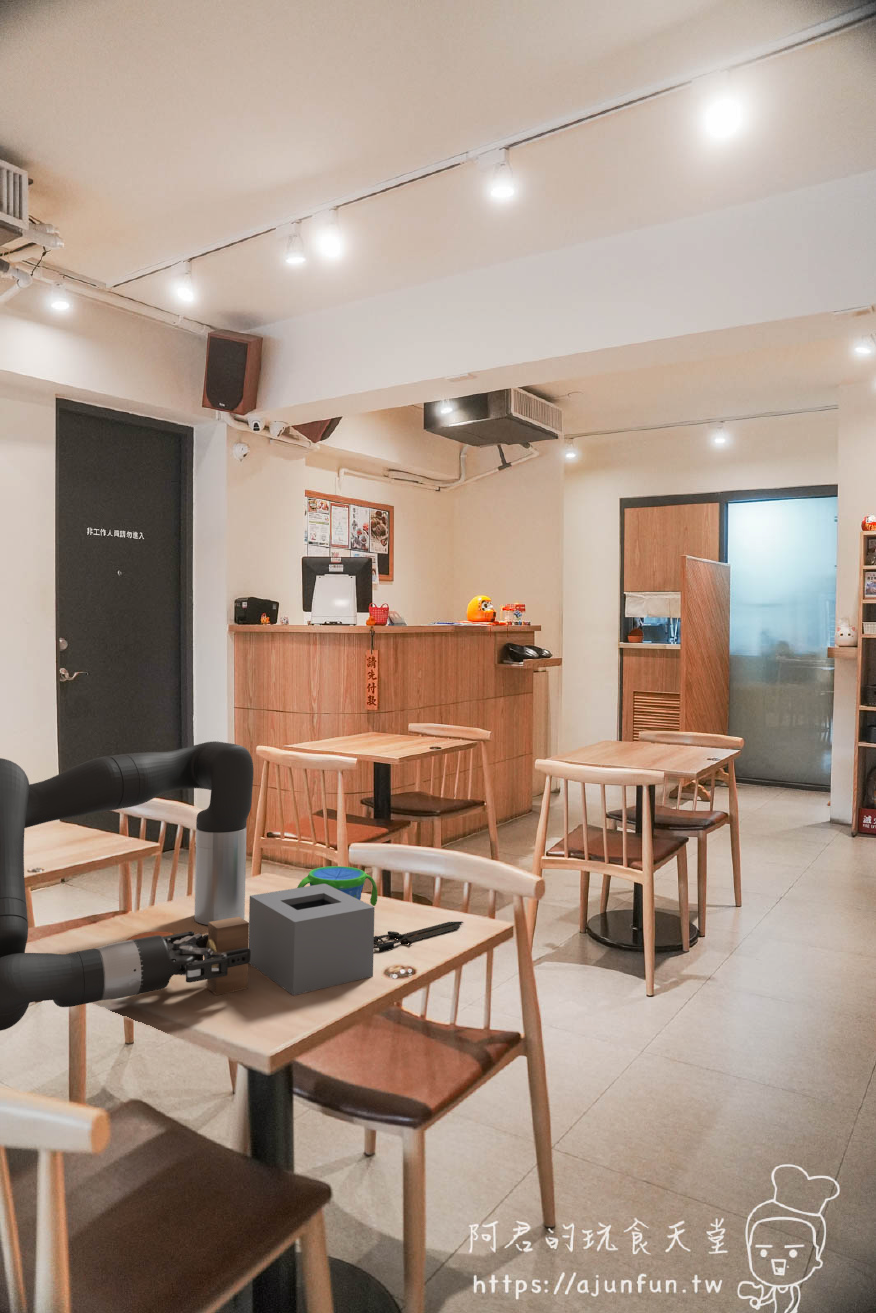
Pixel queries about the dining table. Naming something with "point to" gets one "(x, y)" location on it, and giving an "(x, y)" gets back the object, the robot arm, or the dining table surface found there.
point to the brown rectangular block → (224, 939)
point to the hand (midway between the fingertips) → (237, 946)
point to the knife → (413, 935)
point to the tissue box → (311, 937)
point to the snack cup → (341, 880)
